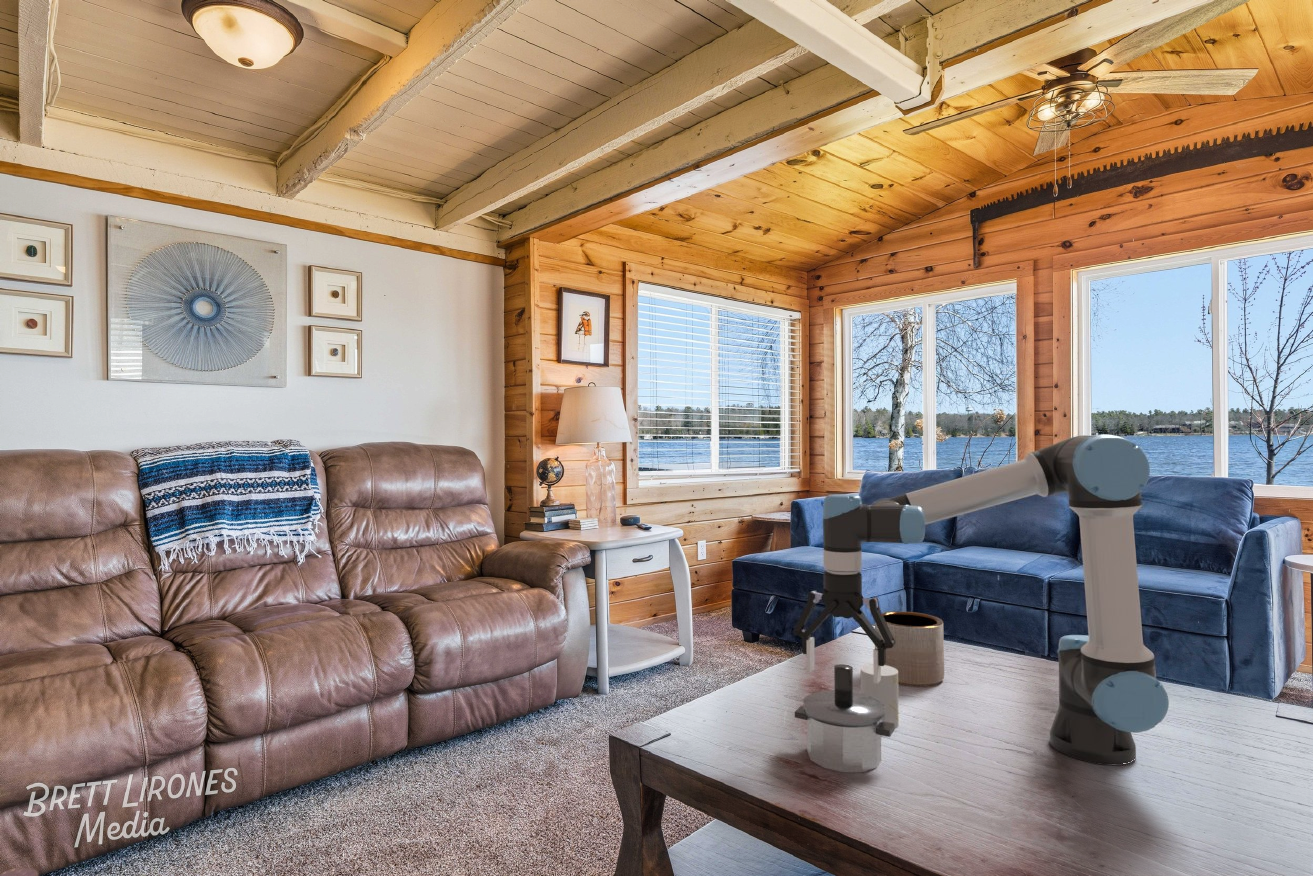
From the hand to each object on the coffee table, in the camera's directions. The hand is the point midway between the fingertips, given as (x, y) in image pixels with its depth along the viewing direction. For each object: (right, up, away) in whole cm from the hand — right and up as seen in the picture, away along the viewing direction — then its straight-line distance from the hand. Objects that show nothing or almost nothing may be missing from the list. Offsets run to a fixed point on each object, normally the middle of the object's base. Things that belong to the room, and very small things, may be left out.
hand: (843, 676), depth 144 cm
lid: (0, -7, 0) cm, 7 cm away
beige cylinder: (+13, -17, +17) cm, 27 cm away
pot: (0, -16, 0) cm, 16 cm away
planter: (+30, -17, +48) cm, 59 cm away
